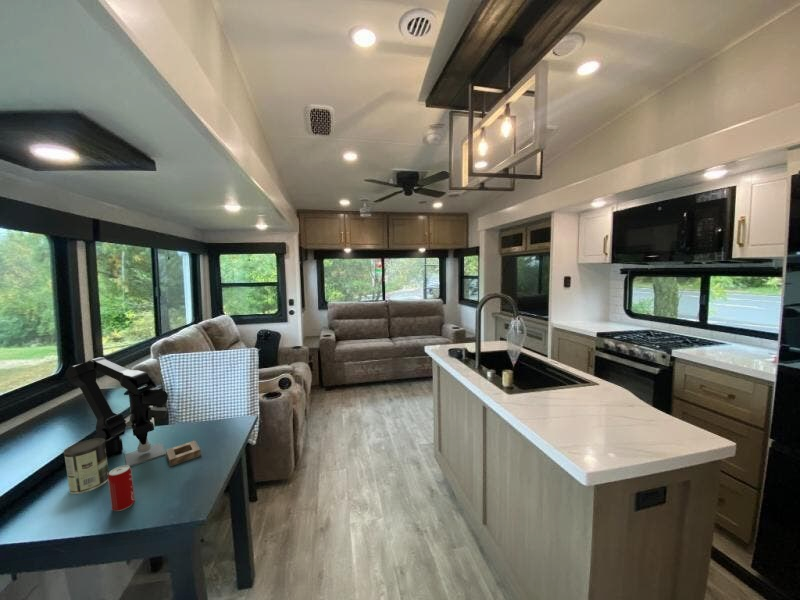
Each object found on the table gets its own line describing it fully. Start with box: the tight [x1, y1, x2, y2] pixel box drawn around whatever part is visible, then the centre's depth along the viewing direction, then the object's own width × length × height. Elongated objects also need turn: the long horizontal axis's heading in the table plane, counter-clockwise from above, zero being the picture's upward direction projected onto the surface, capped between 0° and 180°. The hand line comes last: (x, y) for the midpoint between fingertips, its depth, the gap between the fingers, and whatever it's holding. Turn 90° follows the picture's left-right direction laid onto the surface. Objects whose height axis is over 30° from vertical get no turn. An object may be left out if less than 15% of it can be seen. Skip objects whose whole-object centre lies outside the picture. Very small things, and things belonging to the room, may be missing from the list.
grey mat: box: [124, 442, 166, 468], centre depth 130 cm, size 12×12×1 cm
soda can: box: [107, 464, 136, 512], centre depth 101 cm, size 6×6×12 cm
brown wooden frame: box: [165, 440, 202, 467], centre depth 129 cm, size 10×10×2 cm
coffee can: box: [62, 438, 110, 495], centre depth 112 cm, size 10×10×14 cm
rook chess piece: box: [136, 438, 152, 453], centre depth 130 cm, size 4×4×8 cm
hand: (143, 442), depth 130 cm, fingers closed on rook chess piece, 3 cm apart
